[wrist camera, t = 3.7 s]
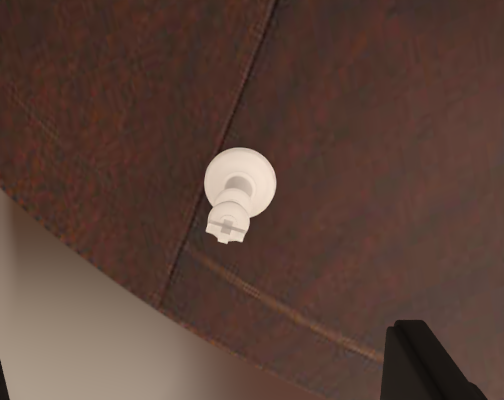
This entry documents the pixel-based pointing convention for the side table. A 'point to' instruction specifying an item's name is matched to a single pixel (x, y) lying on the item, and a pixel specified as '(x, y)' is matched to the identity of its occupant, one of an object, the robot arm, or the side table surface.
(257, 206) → the chess piece
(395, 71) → the side table surface
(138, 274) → the side table surface
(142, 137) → the side table surface
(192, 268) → the side table surface
